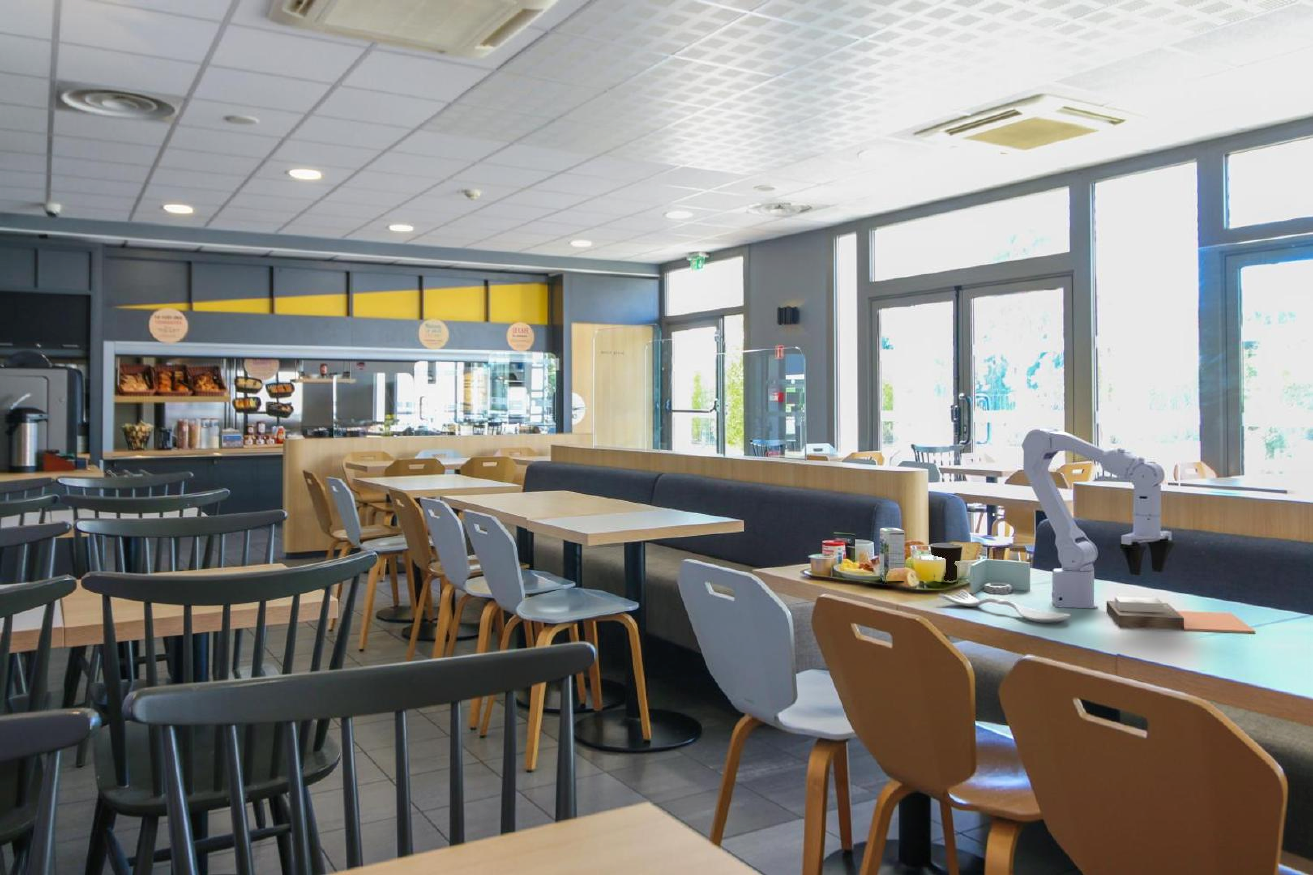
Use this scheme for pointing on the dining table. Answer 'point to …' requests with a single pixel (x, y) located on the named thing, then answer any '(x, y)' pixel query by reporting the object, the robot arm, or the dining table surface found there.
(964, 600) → the fork
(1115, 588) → the dining table surface
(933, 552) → the coffee mug
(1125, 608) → the tile
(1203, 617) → the mat
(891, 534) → the syrup box
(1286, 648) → the dining table surface
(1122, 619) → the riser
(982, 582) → the right angle wall
